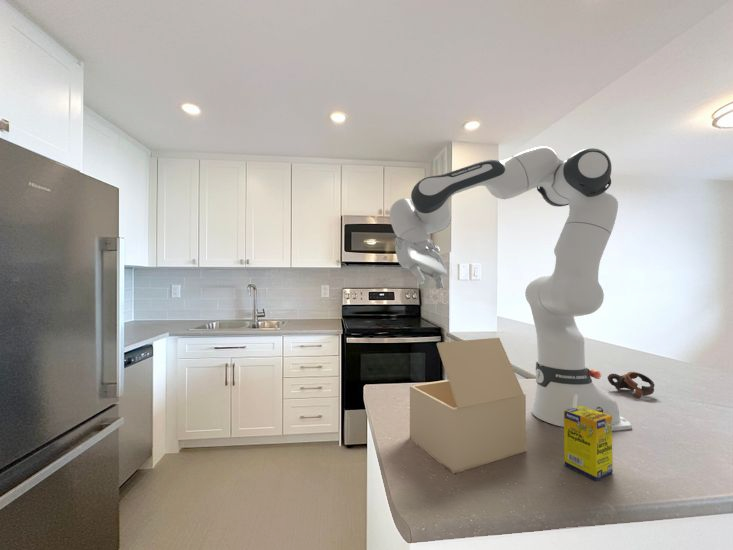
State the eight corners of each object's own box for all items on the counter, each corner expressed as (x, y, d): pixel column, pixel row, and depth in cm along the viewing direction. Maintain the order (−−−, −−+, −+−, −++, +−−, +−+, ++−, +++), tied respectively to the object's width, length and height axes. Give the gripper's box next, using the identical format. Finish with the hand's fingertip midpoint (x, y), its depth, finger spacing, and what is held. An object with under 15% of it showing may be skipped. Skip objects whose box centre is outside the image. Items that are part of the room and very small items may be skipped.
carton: (473, 422, 80) (473, 375, 81) (526, 451, 66) (525, 394, 67) (408, 437, 72) (408, 385, 72) (453, 474, 58) (453, 409, 58)
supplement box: (597, 482, 56) (596, 421, 56) (563, 465, 61) (562, 409, 62) (614, 473, 59) (612, 415, 59) (580, 457, 64) (579, 404, 64)
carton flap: (497, 338, 73) (499, 337, 72) (522, 395, 66) (524, 394, 66) (436, 343, 65) (437, 342, 65) (457, 408, 59) (459, 408, 58)
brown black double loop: (642, 392, 107) (654, 375, 103) (649, 412, 100) (661, 395, 96) (601, 378, 112) (610, 362, 108) (605, 397, 105) (614, 380, 101)
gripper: (402, 228, 81) (419, 271, 74) (441, 248, 95) (459, 286, 89) (385, 241, 84) (400, 284, 78) (425, 259, 99) (441, 297, 92)
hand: (432, 285), depth 83 cm, fingers open, 8 cm apart
